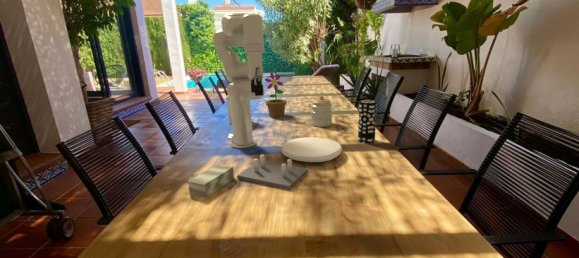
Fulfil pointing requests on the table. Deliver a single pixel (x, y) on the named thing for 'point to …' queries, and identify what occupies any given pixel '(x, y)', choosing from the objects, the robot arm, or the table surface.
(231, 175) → the pale green rectangular block
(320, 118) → the jar
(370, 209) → the table surface
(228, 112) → the utensil holder
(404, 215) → the table surface
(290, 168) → the peg stand
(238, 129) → the robot arm
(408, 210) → the table surface
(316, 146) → the plate
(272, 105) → the flowerpot
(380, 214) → the table surface
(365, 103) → the spotted tube
